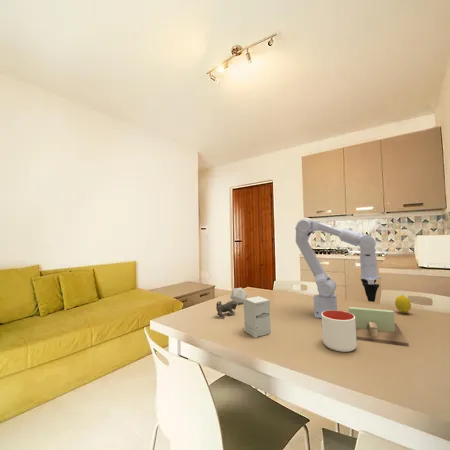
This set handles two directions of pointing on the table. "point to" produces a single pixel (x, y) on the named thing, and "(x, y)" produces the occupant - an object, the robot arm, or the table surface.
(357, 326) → the slotted plate
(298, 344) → the table surface
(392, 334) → the base
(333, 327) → the cup
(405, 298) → the lemon
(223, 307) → the dog figurine
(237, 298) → the die
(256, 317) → the supplement box
